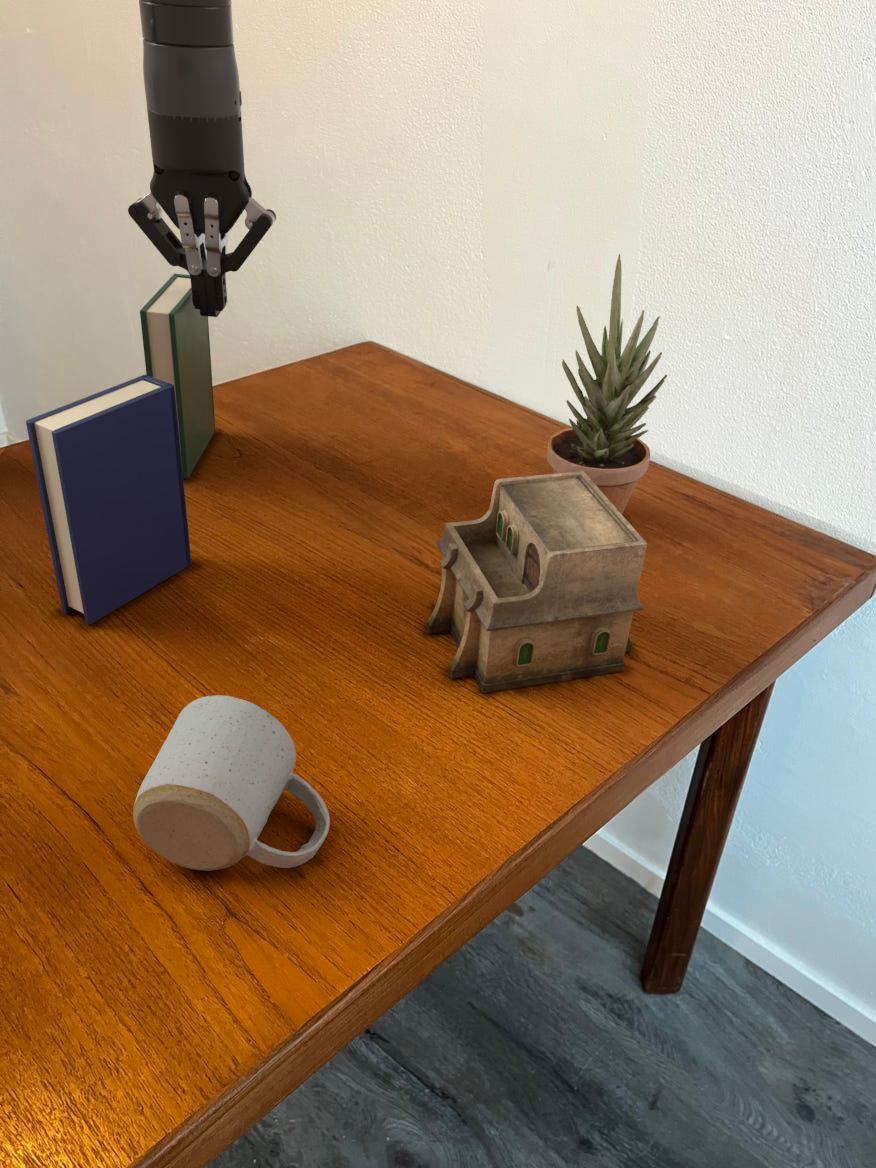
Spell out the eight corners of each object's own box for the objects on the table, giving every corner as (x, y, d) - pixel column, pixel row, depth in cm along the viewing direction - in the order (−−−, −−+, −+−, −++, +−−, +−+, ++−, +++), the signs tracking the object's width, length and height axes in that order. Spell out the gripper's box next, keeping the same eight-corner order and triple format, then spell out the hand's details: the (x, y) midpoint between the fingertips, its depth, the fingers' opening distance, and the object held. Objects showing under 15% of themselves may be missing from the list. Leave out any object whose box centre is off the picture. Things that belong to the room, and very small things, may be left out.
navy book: (174, 384, 76) (145, 374, 77) (56, 433, 68) (25, 420, 69) (191, 564, 85) (165, 552, 86) (89, 625, 77) (62, 611, 78)
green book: (205, 276, 97) (174, 273, 96) (174, 314, 88) (139, 310, 88) (215, 430, 106) (186, 427, 106) (188, 478, 97) (156, 475, 97)
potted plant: (560, 483, 103) (596, 231, 88) (649, 508, 100) (701, 252, 85) (522, 524, 95) (554, 256, 81) (617, 553, 92) (667, 280, 78)
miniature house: (573, 574, 89) (592, 456, 82) (645, 671, 78) (673, 544, 72) (409, 595, 84) (415, 471, 77) (462, 700, 74) (473, 568, 67)
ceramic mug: (130, 868, 59) (115, 773, 54) (184, 773, 65) (174, 681, 61) (307, 901, 58) (306, 808, 54) (344, 801, 65) (346, 711, 60)
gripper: (98, 104, 80) (126, 321, 90) (265, 119, 80) (275, 334, 90) (127, 90, 86) (151, 295, 96) (282, 104, 86) (290, 307, 96)
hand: (211, 313), depth 93 cm, fingers closed
